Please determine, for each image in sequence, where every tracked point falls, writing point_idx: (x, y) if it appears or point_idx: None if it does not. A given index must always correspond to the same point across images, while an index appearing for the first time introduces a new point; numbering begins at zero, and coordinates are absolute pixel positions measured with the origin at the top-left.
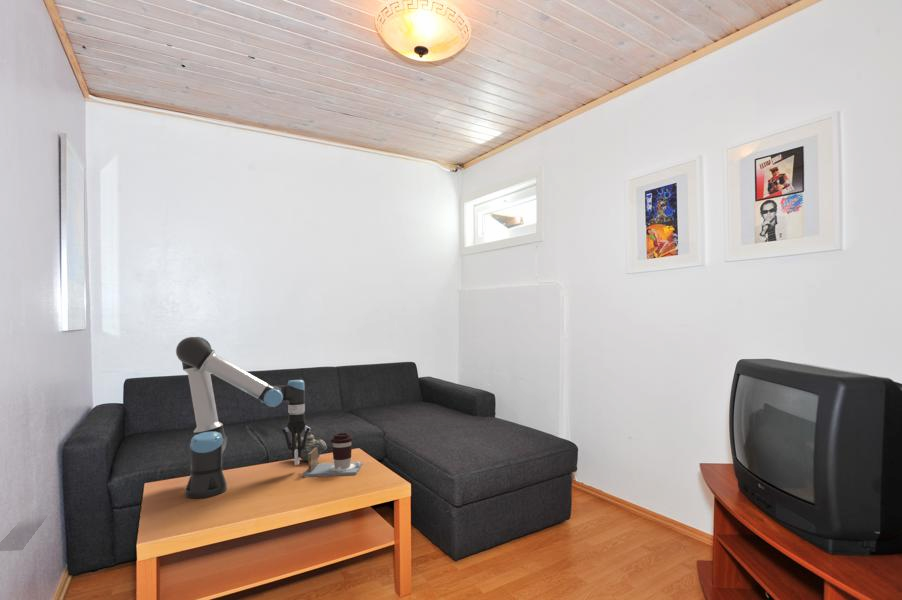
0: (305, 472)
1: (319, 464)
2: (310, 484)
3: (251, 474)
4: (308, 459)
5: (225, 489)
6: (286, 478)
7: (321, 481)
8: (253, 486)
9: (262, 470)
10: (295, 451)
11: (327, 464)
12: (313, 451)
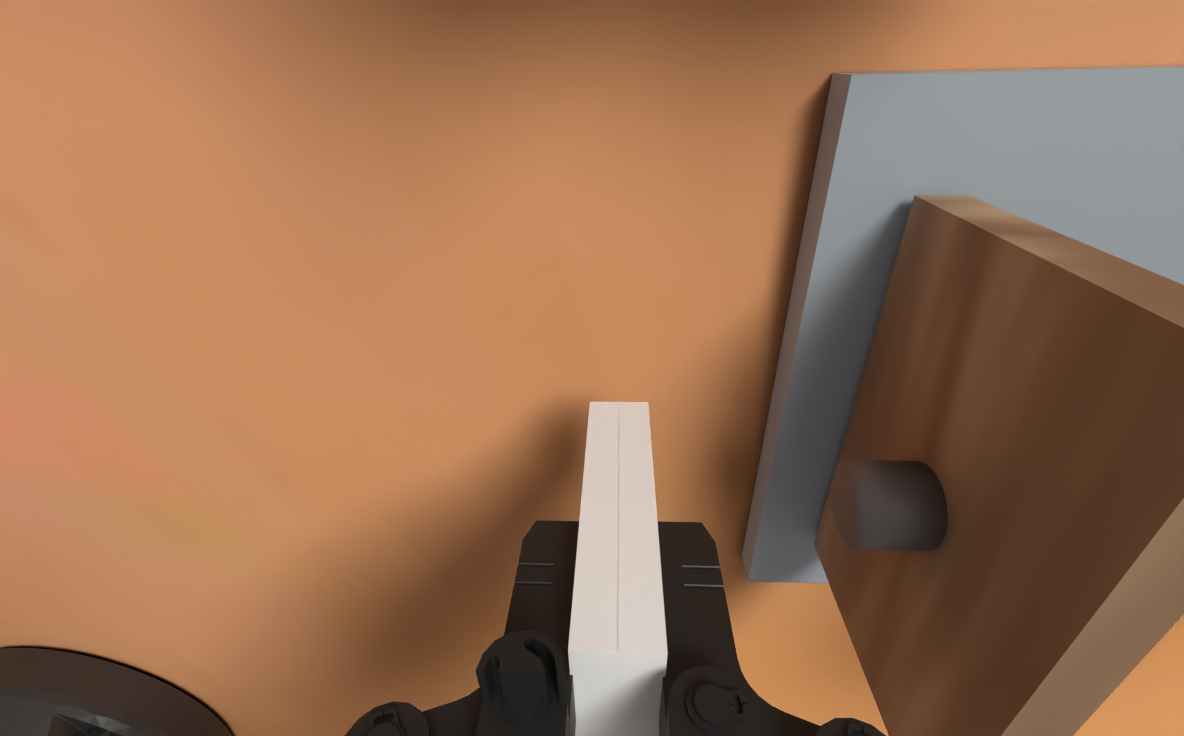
0: (772, 531)
1: (999, 158)
2: (841, 705)
3: (30, 390)
4: (881, 709)
5: (218, 731)
6: None
7: None
8: (371, 681)
9: (6, 220)
10: (601, 721)
11: (1166, 180)
12: (1069, 731)
